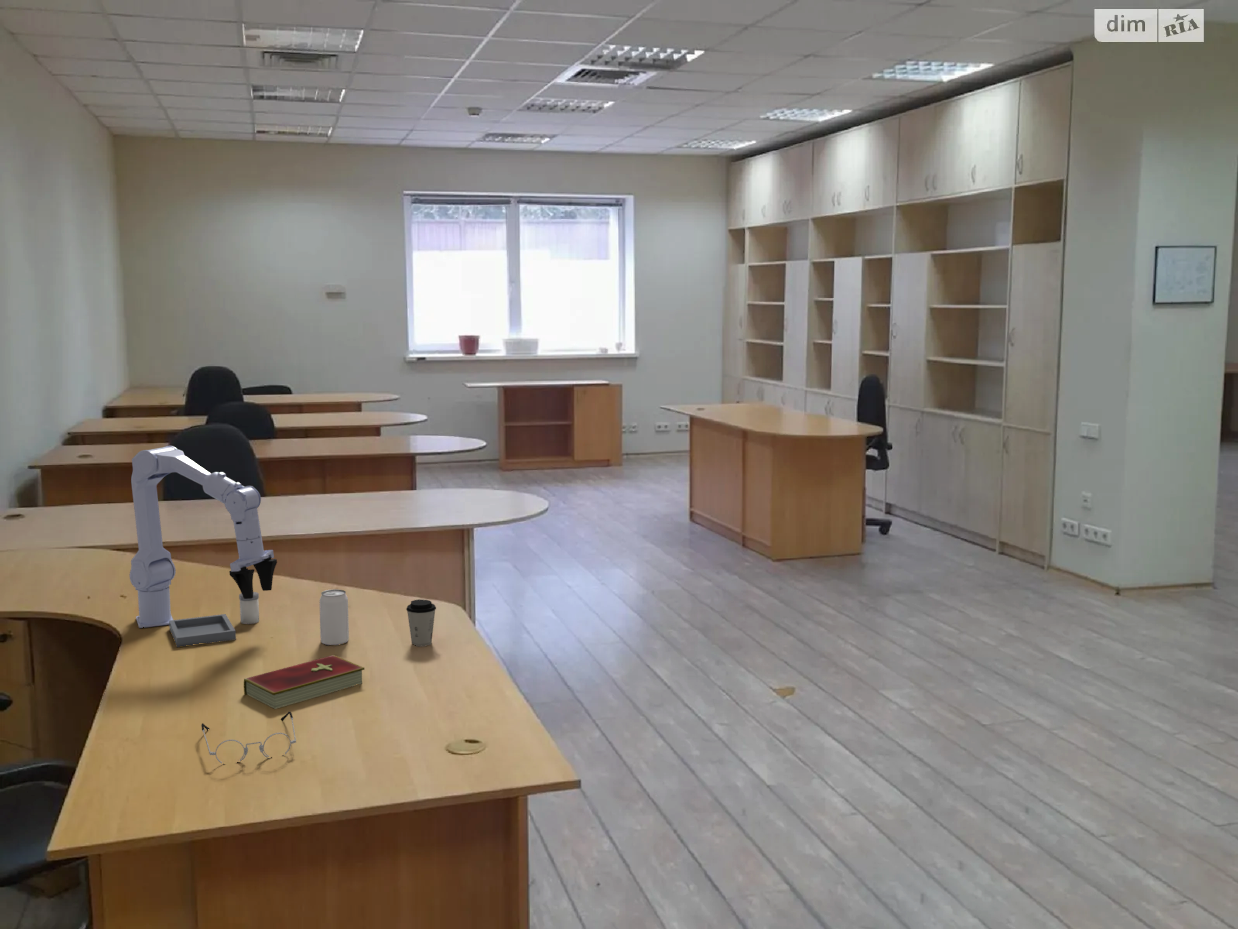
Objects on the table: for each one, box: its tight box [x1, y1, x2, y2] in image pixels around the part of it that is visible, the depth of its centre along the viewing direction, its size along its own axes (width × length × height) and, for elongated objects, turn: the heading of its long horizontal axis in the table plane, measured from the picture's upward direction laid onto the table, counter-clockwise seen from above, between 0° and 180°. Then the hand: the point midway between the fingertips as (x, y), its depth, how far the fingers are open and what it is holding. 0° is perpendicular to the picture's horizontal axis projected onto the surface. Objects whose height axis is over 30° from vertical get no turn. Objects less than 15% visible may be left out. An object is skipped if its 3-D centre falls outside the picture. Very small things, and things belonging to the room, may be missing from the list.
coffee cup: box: [405, 599, 437, 647], centre depth 254 cm, size 7×7×10 cm
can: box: [319, 588, 350, 646], centre depth 254 cm, size 6×6×12 cm
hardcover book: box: [243, 654, 365, 710], centre depth 224 cm, size 12×21×4 cm, turn 137°
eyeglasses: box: [201, 711, 297, 764], centre depth 197 cm, size 16×19×5 cm
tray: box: [168, 613, 237, 648], centre depth 259 cm, size 15×13×2 cm
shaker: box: [238, 591, 260, 625], centre depth 269 cm, size 5×5×7 cm
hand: (258, 594), depth 257 cm, fingers open, 7 cm apart
